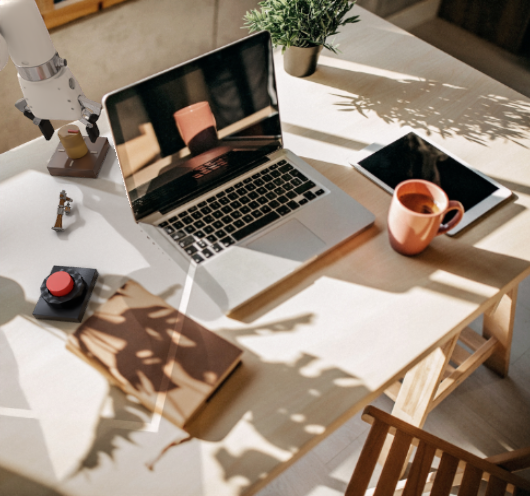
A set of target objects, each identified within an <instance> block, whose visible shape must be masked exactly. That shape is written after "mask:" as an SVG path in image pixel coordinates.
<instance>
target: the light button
mask: <svg viewBox="0 0 530 496" xmlns="http://www.w3.org/2000/svg"><path fill="white" fill-rule="evenodd" d="M46 285H47V288H48V289H49V291H50V292H51V293H52V294H53V295H54V296H58V297H60V296H64V295H67V294H68V293H70V292H71V290H72V289H73V287H74V281H73V280H72V278H71V276H70V275H69V274H68V273H67V272H64V271H59V272H56V273H54V274H52V275H51V276H50V277H49V278H48V280H47V283H46Z"/></svg>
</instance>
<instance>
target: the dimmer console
mask: <svg viewBox="0 0 530 496" xmlns="http://www.w3.org/2000/svg"><path fill="white" fill-rule="evenodd" d="M82 136H83V138H84V141H85V143H86V145H87V148H88V151H87V153H86V154H85V155H84V156H83V157H81V158H77V159H73V158H70V157H68V156H67V154H66V152H65V149H64V147H63V145H62V143H61V141H60V140H59V142H58V144H57V146H56V148H55V150H54V152H53V153H52V156H51V158H50V159H49V161H48V163H47V165H46V169H47V170H48V174H49V175H50V176H53V177H54V176H55V177H67V178H68V177H71V178H83V179H85V178H86V179H98V175H99V173H100V172H101V168H102V167H103V164H104V162H105V159H106V157H107V155H108V153H109V150H110V148H111V144H110V141H109V138H108V137H107V136H99V137H98V138H97V140H96V142H95V143H92V142H91V141H90V139H89V136H88V135H82Z"/></svg>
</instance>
